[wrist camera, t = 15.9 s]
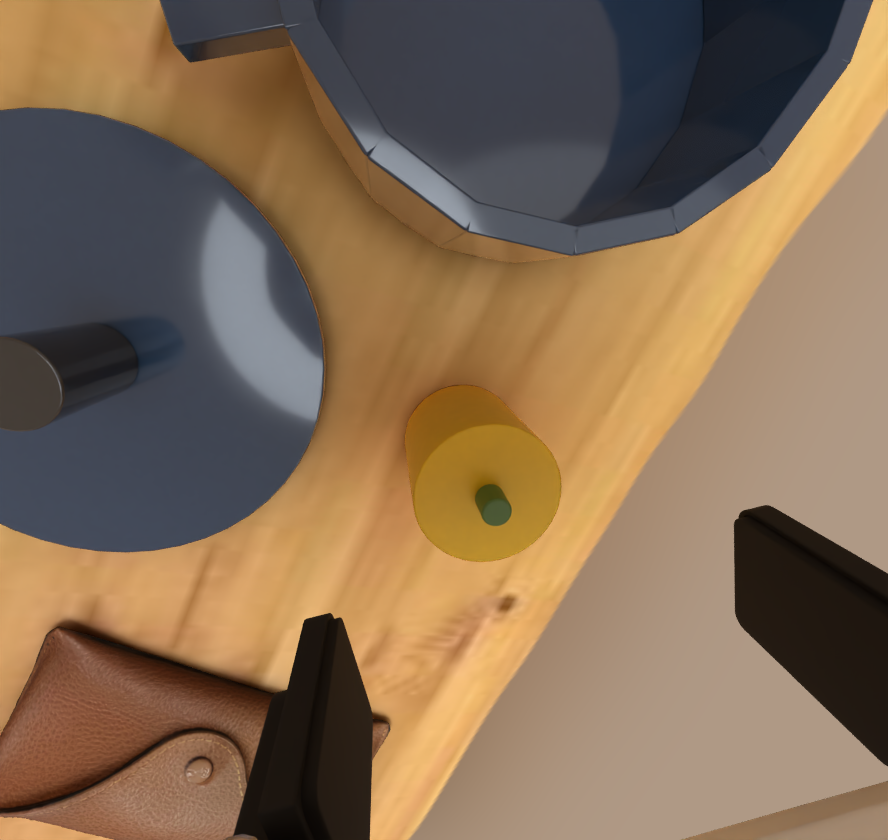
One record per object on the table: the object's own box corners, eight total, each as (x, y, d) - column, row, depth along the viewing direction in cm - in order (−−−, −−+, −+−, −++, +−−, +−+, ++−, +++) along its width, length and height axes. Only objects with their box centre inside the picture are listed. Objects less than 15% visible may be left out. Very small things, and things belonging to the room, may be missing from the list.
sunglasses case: (401, 721, 25) (372, 894, 21) (357, 740, 30) (325, 885, 25) (41, 618, 21) (-101, 807, 16) (55, 658, 26) (-53, 815, 21)
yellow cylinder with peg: (393, 398, 21) (398, 457, 14) (506, 373, 21) (566, 419, 14) (417, 501, 22) (434, 599, 16) (522, 476, 23) (583, 561, 16)
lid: (-237, 167, 16) (-563, 108, 10) (256, 79, 17) (196, -16, 11) (2, 576, 21) (-130, 681, 15) (369, 489, 22) (365, 559, 16)
